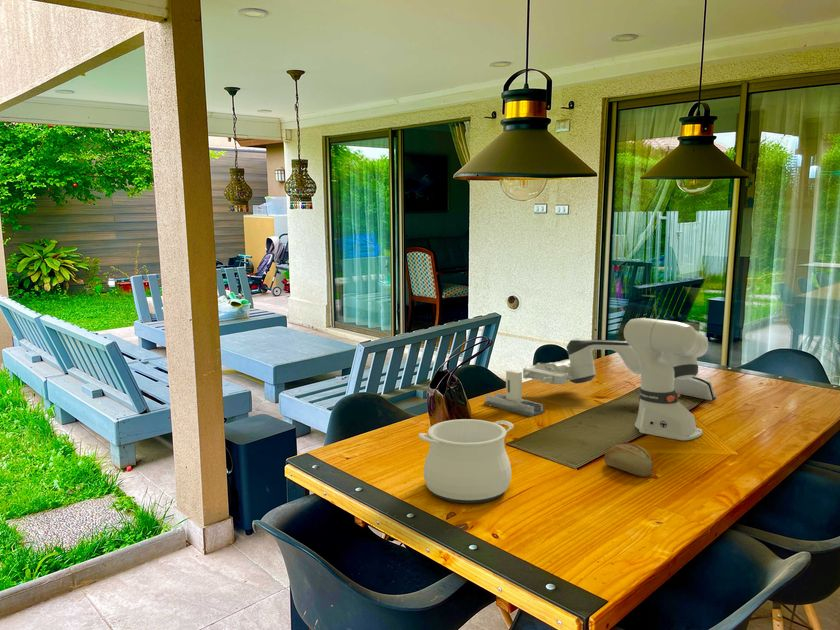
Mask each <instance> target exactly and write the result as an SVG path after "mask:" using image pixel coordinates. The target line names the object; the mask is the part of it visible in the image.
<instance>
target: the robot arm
mask: <svg viewBox="0 0 840 630" xmlns="http://www.w3.org/2000/svg"><path fill="white" fill-rule="evenodd" d="M623 338H624V340H618V339H617V340H616V339H615V340H613V339H588V338H583V337H582V338H581V337H579V338H573V339H571V340H570V341H569V342H568V343H567V345H566V352H567V354H568V358H567V359H563V360H562V359H561V360H560V361H555V362H537V363H536V364H533V365H530V366H526V367H524V368H523V369H522V379H526V380H527V379H532V380H536V381H540V382H541V383H544V384H545V383H549V384H552V385H555V384H556V385H558V386H559V385H563V384H564V385H565V384H566V383H569V382H571V383H573V384H583V383H587V382H589V381H590V382H591V381H593V379H594V378H595V377H596V368H595V362H594V357H593V356H594V355H593V351H594V350H604V351H605V350H611V351H614V352H615V353H617V354H618V355H619V357H620V358H621V360H622V362H623V364H624V365H625V367H626V368H627V369H628V370H629V371H630V372H632V373H633V374H635V375H640V387H639V391H638V400H639V403H638V404H639V405H638V411H637V417H636V419H635V423H634V427H635V428H636V429H637V430H638V431H639V433H640V434H645V435H651V436H656V437H662V438H665V439H666V438H667V439H671V440H677V441H691V440H695V439H697V438H699V437H700V436H702V435H703V430H702V429H701V428H698V427H696V420H695V416H694V414H693V413H692V412H691V411H689V410H688V409H687V407H685V406H684V404H682V403H681V402H680V401H679V397H681V395H682V394H681V393H676V392H675V390H674V379H680V380H687V379H690V378H692V377H695V376H697V375H698V373H699V365H698V358H700V357H702V356H704V355H706V353H707V351H708V349H709V341H708V339H707V338H706V336H705V335H703V334H702V333H701V332H699V331H698V330H696V329H695V328H694V326H692V325H689V324H687V323H684V322H679V321H675V320H666V319H665V320H664V319H658V318H647V317H640V318H639V317H637V318H631V319H629V321H628V322H627V323H626V324H625V326H624V328H623Z"/></svg>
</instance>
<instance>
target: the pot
mask: <svg viewBox="0 0 840 630" xmlns="http://www.w3.org/2000/svg"><path fill="white" fill-rule="evenodd" d="M502 425H505V426H508V428H507V429H506V428H505V427H503V426H502ZM514 428H515V427H514V424H513V423H512V422H510V421H507V420H503V419H501V420H497V421H494V422H492V421H488V420H484V419H472V418H471V419H469V418H468V419H467V418H462V419H450V420H445V421H441V422H437V423H435V424H433V425H431V426H430V427H429V428H428V431H427V433H425V432H419V433H418V435H417V436H418V438H419V439H420V440H421V441H423V442H425V443H429V447H428V448H429V450H428V452H427V455H426V457H425V460H424V464H423V480H424V481H425V482H424V483H425V484H426V487H427V489H429V491H430V492H431V493H432V494H433V495H435V496H436V497H438V498H440V499H441V500H444V501H448V502H450V503H456V504H480V503H485V502H489V501H492V500H494V499H495V500H496V499H497V498H499V497H500V496H502V495H503V494H504V493H505V492H506V491H507V489H509V485H510V483H511V480H512V466H511V461H510V459H509V458H510V457H509V455H508V454H507V453H508V452H507V450H506V448H505V446H506V445H505V437H506V436H507V434H508V432H510V431H511V430H513V429H514Z"/></svg>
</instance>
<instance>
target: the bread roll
mask: <svg viewBox="0 0 840 630" xmlns="http://www.w3.org/2000/svg"><path fill="white" fill-rule="evenodd" d="M603 461H604V463H605V464H606V466H609V467H612V468H615V469H618V470H621V471H624V472H626V473H629V474H632V475H635V476H638V477H641V478H646V477H647V478H648V477H649V476H651V475H652V473H653V469H654V465H653V461H652V458H651V456H650V454H649V452H648V451H647V450H646V449H645V448H644V447H642V446H641V445H638V444H635V443H631V442H625V441H624V442H621V443H618V444H616V445H613V446H612V447H611V448H608V449H607V450H606V452H605V454H604V456H603Z"/></svg>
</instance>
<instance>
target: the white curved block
mask: <svg viewBox="0 0 840 630" xmlns="http://www.w3.org/2000/svg"><path fill="white" fill-rule="evenodd" d="M674 390H675V392H676V393H677V394H679V393H681V394H680V395H684V396H689V397H693V398H698V399H703V400H708V401H712V400H713V399H717V394H716V393H715V391H714V388H713V384H712V382H711V381H710V380H708V379H706V378H703V377H701V376H697V375H696V376H695V377H692V378H690V379H687V380H680V379H675V378H674Z"/></svg>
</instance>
